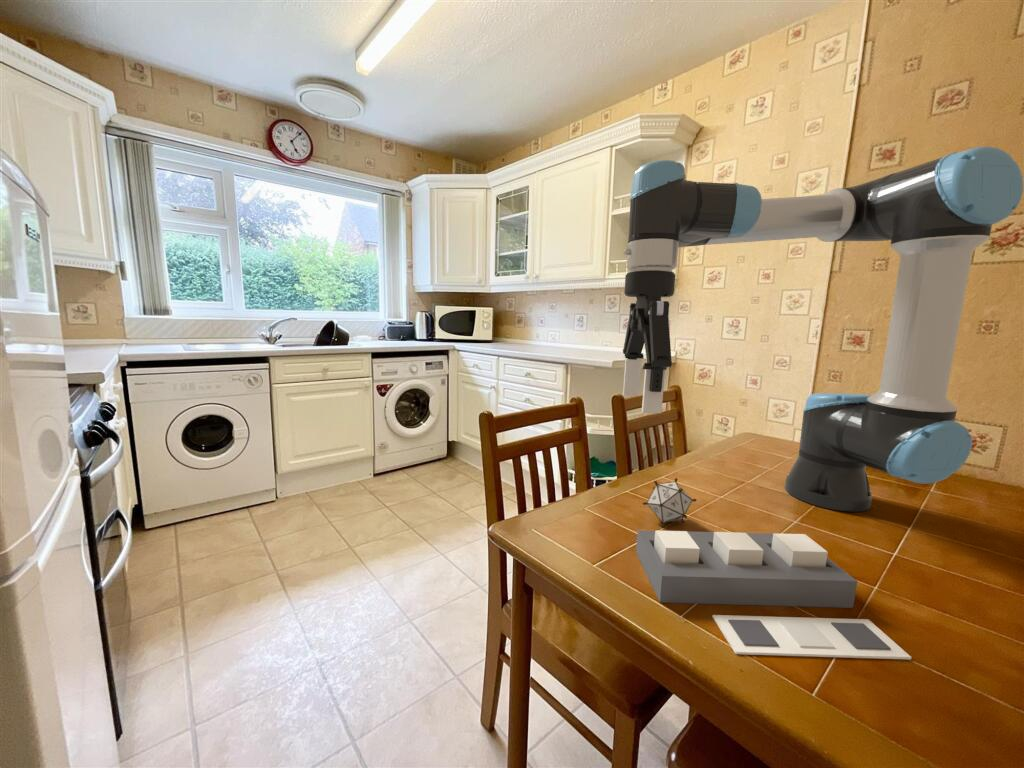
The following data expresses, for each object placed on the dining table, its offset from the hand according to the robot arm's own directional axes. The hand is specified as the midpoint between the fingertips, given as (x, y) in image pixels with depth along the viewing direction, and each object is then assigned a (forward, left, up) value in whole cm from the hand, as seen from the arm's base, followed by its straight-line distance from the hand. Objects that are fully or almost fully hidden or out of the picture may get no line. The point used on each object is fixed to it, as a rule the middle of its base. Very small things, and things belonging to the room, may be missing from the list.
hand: (640, 403), depth 69 cm
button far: (-4, +10, -21) cm, 24 cm away
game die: (-9, -7, -25) cm, 27 cm away
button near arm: (-22, +10, -21) cm, 32 cm away
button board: (-13, +10, -24) cm, 29 cm away
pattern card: (-16, +22, -24) cm, 36 cm away
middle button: (-13, +10, -21) cm, 27 cm away
